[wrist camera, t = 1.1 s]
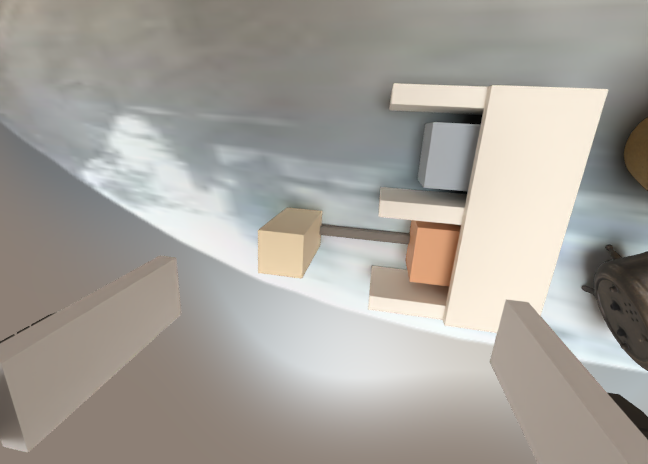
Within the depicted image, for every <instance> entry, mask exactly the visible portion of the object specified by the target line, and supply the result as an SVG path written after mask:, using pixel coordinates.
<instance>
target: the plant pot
mask: <svg viewBox="0 0 648 464" xmlns="http://www.w3.org/2000/svg"><path fill="white" fill-rule="evenodd" d="M624 161H625V165H626V167H627V169H628V171H629V172H630V173H631V175H632V176H633V177H634V178H635V179H636V180H637V181H638V182H639V183H640V184H641V185H642V186H643V187H644V188H645V189H646V190H647V191H648V117H647V118H646V119H644V120H643V121H642V122H641V123H639V124H638V125H637V127H636V128H635V129H634V130H633V131H632V133H631V134H630V136H629V138H628V140H627V142H626V145H625V149H624Z"/></svg>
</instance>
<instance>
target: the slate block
mask: <svg viewBox="0 0 648 464" xmlns="http://www.w3.org/2000/svg"><path fill="white" fill-rule="evenodd" d="M480 126H481V125H478V124H459V123H441V122H432V123H427V124H425V129H424V136H423V143H422V150H421V157H420V164H419V171H418V178H417V180H418V181H419V182H420V184H421V185H422V186H423V187H424V188H434V189H446V190H459V191H468V188H469V183H470V178H471V173H472V167H473V162H474V157H475V152H476V147H477V142H478V137H479V132H480Z"/></svg>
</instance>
